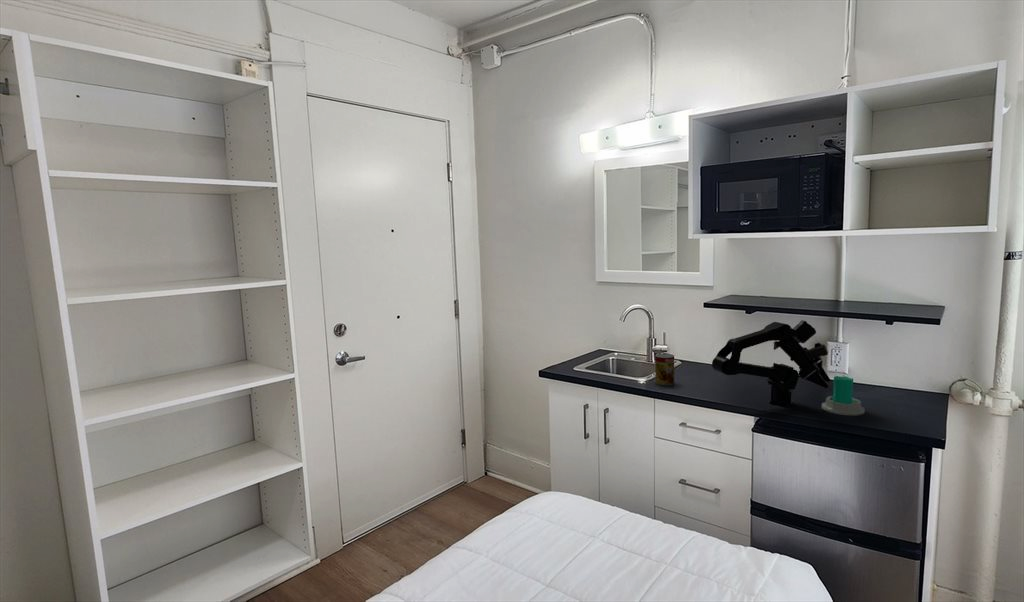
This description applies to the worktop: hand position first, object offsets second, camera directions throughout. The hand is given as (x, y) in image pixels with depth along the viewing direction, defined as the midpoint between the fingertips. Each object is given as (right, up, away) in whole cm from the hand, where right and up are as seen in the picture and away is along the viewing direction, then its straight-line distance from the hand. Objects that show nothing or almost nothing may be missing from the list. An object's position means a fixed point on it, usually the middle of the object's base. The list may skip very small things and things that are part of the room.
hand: (828, 384), depth 192 cm
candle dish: (+4, -9, -1) cm, 10 cm away
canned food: (-47, -6, +40) cm, 62 cm away
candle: (+4, -8, -1) cm, 9 cm away
